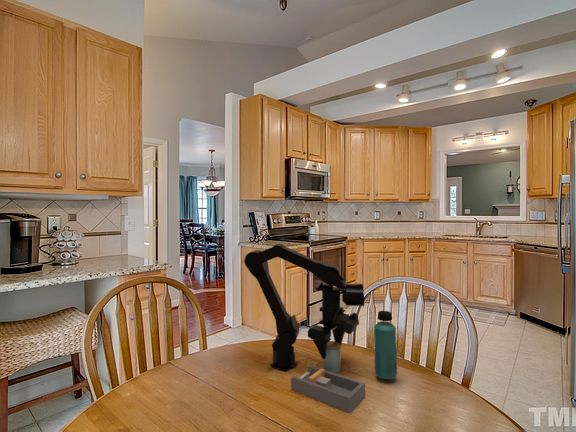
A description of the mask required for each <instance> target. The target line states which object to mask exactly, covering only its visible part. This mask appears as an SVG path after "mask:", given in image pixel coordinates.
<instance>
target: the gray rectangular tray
mask: <svg viewBox="0 0 576 432" xmlns="http://www.w3.org/2000/svg"><path fill="white" fill-rule="evenodd" d="M306 369H307V370H306V372H305V373H303V374H301V375H300V376H299V377H298V376H295V375H292V376H291V377H290V390H291V391H293V392H296V393H298V394H300V395H303V396H306V397H309V398H310V399H313V400H316V401H318V402H320V403H324V404H326V405H329V406H331V407H334V408H336V409H339V410H342V411H344V412H347V413H349V414H351V412H352V411H353V410H354V409H356V407H357V406H358V405H359V404H360V402H361V401H362V400H363V399H365V397H366V382H363V381H360V380H357V379H355V378H351V377H348V376H344V375H343V374H342V375H341V374H339V373H332V372H329V371H326V370H325V378H328V379H331V387H330V388H326V387H324V386H321V385H318V384H315V383H312V382H310V381H309V377H310V376H311V375H313V374H314V373H316V372H317V371H318V370H320V369H321V368H319V367H317V366H313V365H311V364H308V365H307V368H306Z"/></svg>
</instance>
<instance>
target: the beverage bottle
mask: <svg viewBox="0 0 576 432" xmlns="http://www.w3.org/2000/svg"><path fill="white" fill-rule="evenodd" d="M377 320H379V321H378V322H377V323H375V324H374V326H373V327H374V344H373V345H374V373H375V375H376V376H377V377H379V378H380V379H384V380H394V379H395V378H396V377H397V375H398V359H397V358H398V356H397V355H398V354H397V353H398V350H397V327H396V326H395V325H394V323H392V322H390V321H392V320H393V316H392V312H391V311H387V310H379V311H378V312H377Z"/></svg>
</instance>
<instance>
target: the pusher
mask: <svg viewBox="0 0 576 432" xmlns="http://www.w3.org/2000/svg"><path fill="white" fill-rule="evenodd" d="M309 381H310V382H312V383H315V384H318V385H321V386H324V387H326V388H330V387H331V379H328V378H325V370H324V369H323V368H320V370H318V371H317V372H316V373H314V374H313V375H311V376H310V377H309Z"/></svg>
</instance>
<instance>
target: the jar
mask: <svg viewBox="0 0 576 432" xmlns="http://www.w3.org/2000/svg"><path fill="white" fill-rule="evenodd" d="M341 353H342V352H341V347H340V344H339V343H338V342H335V341H334V340H330V341H329V342H328V343H327V353H326V359H322V369H324V370H326V371H329V372H332V373H336V374H339V373H341V371H342V369H341V368H342V366H341V363H342V360H341V358H342V357H341V356H342V354H341Z"/></svg>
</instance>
